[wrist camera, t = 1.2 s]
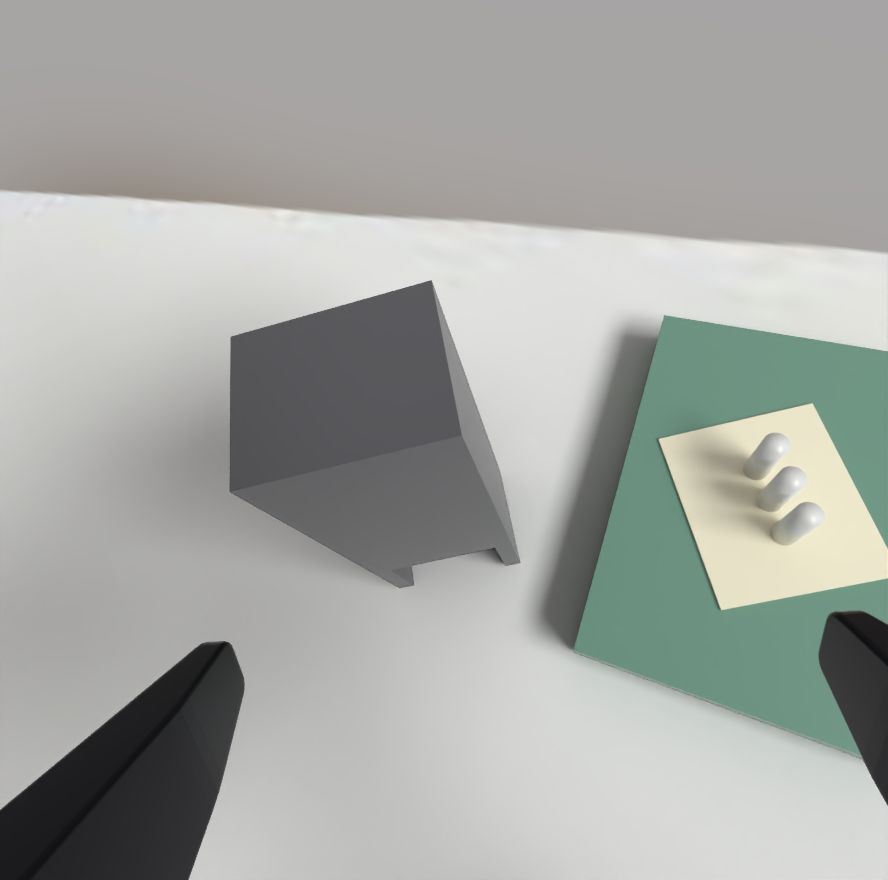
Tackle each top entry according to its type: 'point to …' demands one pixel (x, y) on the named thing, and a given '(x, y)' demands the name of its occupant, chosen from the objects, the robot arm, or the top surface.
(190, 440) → the top surface
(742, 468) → the board
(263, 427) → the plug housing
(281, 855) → the top surface
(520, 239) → the top surface
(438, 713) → the top surface
